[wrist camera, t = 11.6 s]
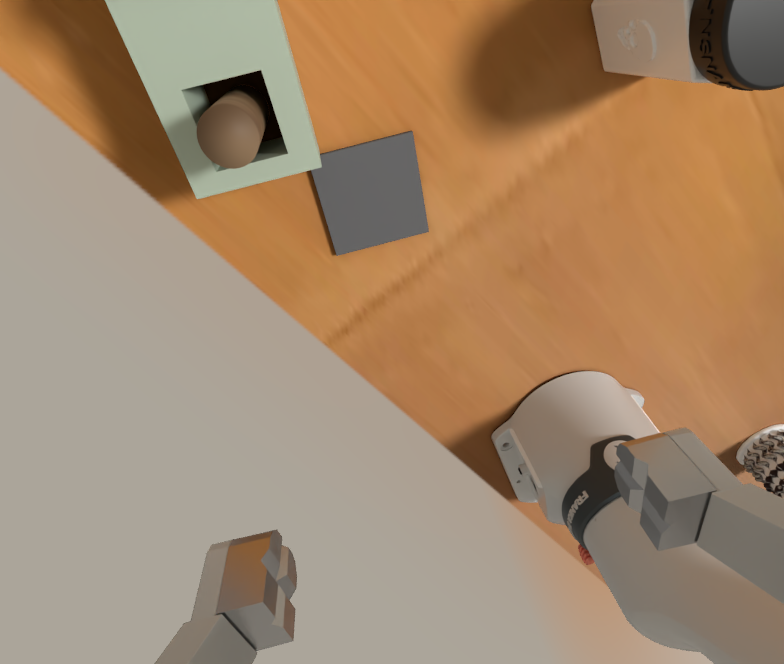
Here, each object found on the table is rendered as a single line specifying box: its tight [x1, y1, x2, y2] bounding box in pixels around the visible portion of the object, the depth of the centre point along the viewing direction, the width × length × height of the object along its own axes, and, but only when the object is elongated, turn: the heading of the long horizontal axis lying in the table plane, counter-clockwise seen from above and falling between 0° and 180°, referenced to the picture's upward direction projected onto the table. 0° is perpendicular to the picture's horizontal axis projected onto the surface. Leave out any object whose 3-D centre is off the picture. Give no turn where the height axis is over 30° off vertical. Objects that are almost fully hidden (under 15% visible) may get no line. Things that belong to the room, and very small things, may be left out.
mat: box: [311, 131, 429, 256], centre depth 35 cm, size 8×8×1 cm
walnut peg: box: [197, 85, 269, 169], centre depth 27 cm, size 3×3×10 cm
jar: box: [591, 0, 784, 91], centre depth 27 cm, size 9×8×12 cm
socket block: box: [105, 0, 322, 199], centre depth 26 cm, size 16×8×6 cm, turn 12°
